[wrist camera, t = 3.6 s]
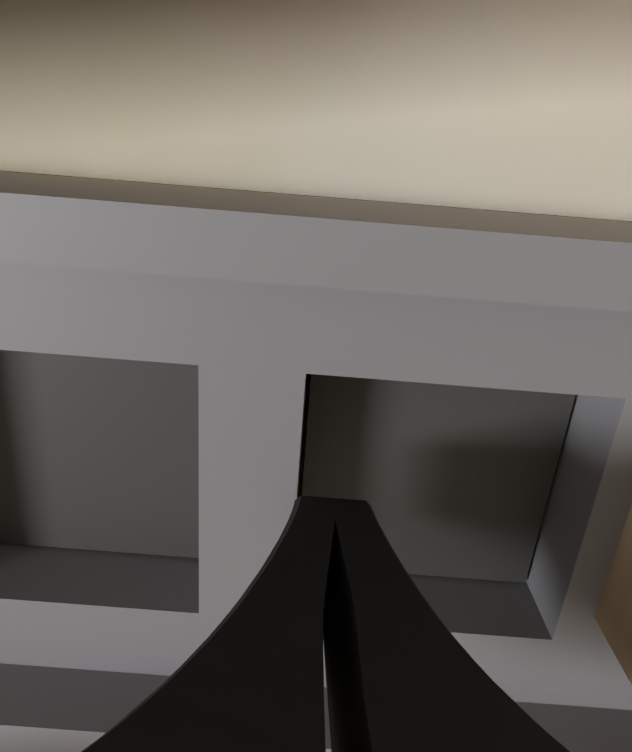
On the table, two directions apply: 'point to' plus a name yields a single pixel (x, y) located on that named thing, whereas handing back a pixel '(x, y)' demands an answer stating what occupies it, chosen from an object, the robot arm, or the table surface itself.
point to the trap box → (285, 425)
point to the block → (619, 601)
